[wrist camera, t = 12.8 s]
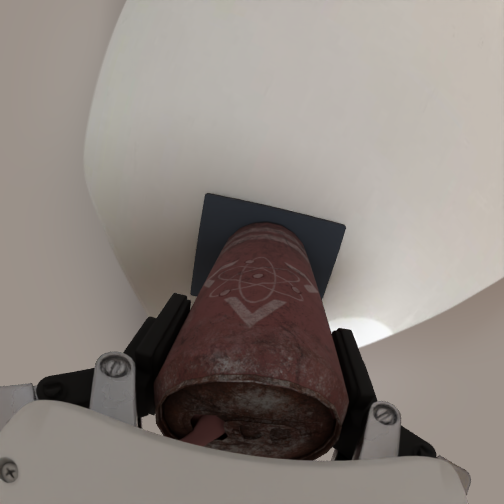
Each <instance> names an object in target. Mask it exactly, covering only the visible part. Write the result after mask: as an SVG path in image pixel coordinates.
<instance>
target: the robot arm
mask: <svg viewBox="0 0 504 504" xmlns="http://www.w3.org/2000/svg"><path fill="white" fill-rule="evenodd" d="M190 306H191V300H187V296H185V295H181V294H177V293H173V295H172V296H171V298H170V299H169V301H168V302H167V304H166V305H165V307H164V308H163V309H162V311H161V312H160V314H159V315H158V317H157V318H153V317H148V318H147V319H146V321H145V322H144V324H143V325H142V327H141V328H140V329H139V331H138V332H137V334H136V335H135V337H134V338H133V340H132V341H131V342H130V344H129V345H128V347H127V348H126V350H125V351H124V352H123V353H121V352H108V353H105V354H103V355H101V356H100V357H99V358H98V359H97V361H96V364H95V368H91V369H86V370H82V371H76V372H70V373H65V374H59V375H52V376H48V377H45V378H43V379H42V380H41V381H40V382H39V383H38V385H37V386H33V384H32V383H30V384H21V385H11V386H2V387H0V504H468V500H467V497H466V495H467V492H468V489H469V486H470V483H471V478H470V475H469V473H468V472H467V471H466V470H465V469H462V468H461V467H459V466H457V465H455V464H453V463H452V462H450V461H448V460H447V459H445V458H443V457H441V456H438V457H436V452H435V449H434V448H433V446H431V445H430V444H429V443H428V442H426V441H424V440H423V439H421V438H420V437H418V436H417V435H415V434H413V433H412V432H410V431H409V430H407V429H405V428H404V427H403V426H401V414H400V412H399V410H398V409H397V408H396V407H395V406H394V405H393V404H391V403H389V402H386V401H377V398H376V395H375V392H374V389H373V386H372V383H371V380H370V378H369V375H368V372H367V369H366V366H365V364H364V362H363V360H362V357H361V354H360V352H359V349H358V346H357V344H356V341H355V338H354V336H353V333H352V331H351V330H349V329H342V328H338V329H337V331H335V330H334V331H333V332H332V338H333V341H334V345H335V348H336V352H337V356H338V360H339V363H340V367H341V371H342V375H343V379H344V383H345V387H346V391H347V395H348V399H349V404H348V408H347V412H346V416H345V419H344V422H343V424H342V429H341V432H340V436H339V439H338V441H337V442H336V443H335V444H334V446H333V448H335V450H334V453H333V456H332V459H331V461H308V460H289V459H277V458H267V457H259V456H251V455H244V454H238V453H232V452H227V451H221V450H216V449H212V448H207V447H203V446H198V445H194V444H190V443H186V442H183V441H179V440H175V439H172V438H169V437H165V436H162V435H159V434H156V433H153V432H150V431H146V430H144V429H142V417H144V416H147V415H148V414H151V415H155V408H156V407H155V402H154V382H155V379H156V377H157V376H158V374H159V372H160V370H161V368H162V366H163V364H164V362H165V360H166V357H167V355H168V353H169V351H170V349H171V347H172V345H173V343H174V341H175V339H176V337H177V335H178V333H179V332H180V330H181V328H182V326H183V324H184V322H185V320H186V318H187V316H188V314H189V312H190Z"/></svg>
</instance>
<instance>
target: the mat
mask: <svg viewBox="0 0 504 504" xmlns="http://www.w3.org/2000/svg"><path fill="white" fill-rule="evenodd" d="M263 222H269V223H273V224H277V225H281V226H283V227H285V228H286V229H288V230H290V231H291V232H293V233H294V234H295V235H296V236H297V237H298V239H299V240H300V241H301V242H302V243H303V246H304V248H305V251H306V254H307V256H308V259H309V262H310V265H311V268H312V272H313V275H314V278H315V281H316V284H317V287H318V291H319V294H320V297H321V300H322V298H323V295H324V293H325V290H326V287H327V284H328V281H329V279H330V276H331V273H332V270H333V267H334V264H335V261H336V258H337V255H338V252H339V249H340V245H341V242H342V239H343V236H344V233H345V229H346V226H345V225H343V224H340V223H336V222H332V221H328V220H324V219H320V218H316V217H313V216H309V215H305V214H300V213H296V212H292V211H288V210H284V209H280V208H275V207H271V206H267V205H262V204H258V203H253V202H249V201H244V200H239V199H235V198H230V197H225V196H220V195H215V194H210V193H207V194H205V199H204V205H203V210H202V217H201V223H200V229H199V235H198V242H197V249H196V256H195V263H194V270H193V278H192V286H191V295H193V296H198V294H199V292H200V290H201V289H202V287H203V285H204V283H205V281H206V279H207V277H208V275H209V273H210V271H211V270H212V268H213V266H214V264H215V262H216V260H217V258H218V257H219V255H220V253H221V251H222V249H223V247H224V246H225V244H226V242H227V241H228V239H229V237H231V236H232V235H233V234H234V233H235V232H236V231H238V230H239V229H240V228H242V227H245V226H247V225H250V224H252V223H263Z"/></svg>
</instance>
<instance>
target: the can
mask: <svg viewBox="0 0 504 504" xmlns="http://www.w3.org/2000/svg"><path fill="white" fill-rule="evenodd" d="M154 402H155V407H156V408H155V414H156V424H157V426H158V427H159V429H160V430H161V432H162V434H163V436H165V437H169V438H172V439H175V440H179V441H183V442H186V443H190V444H194V445H198V446H203V447H207V448H212V449H216V450H221V451H227V452H232V453H238V454H244V455H251V456H259V457H267V458H277V459H289V460H308V461H313V460H315V459H317V458H319V457H320V456H322V455H324V454H325V453H327V452H328V451H329V450H330V449H331V448H332V447H333V446H334V444H335V443H336V442H337V441H338V439H339V436H340V432H341V429H342V424H343V422H344V419H345V416H346V412H347V408H348V404H349V399H348V395H347V391H346V387H345V383H344V379H343V375H342V371H341V367H340V363H339V360H338V356H337V352H336V348H335V345H334V341H333V338H332V334H331V331H330V327H329V324H328V320H327V317H326V314H325V310H324V307H323V304H322V300H321V297H320V294H319V291H318V287H317V284H316V281H315V278H314V275H313V272H312V268H311V265H310V262H309V259H308V256H307V254H306V251H305V248H304V246H303V243H302V242H301V241H300V240H299V239H298V237H297V236H296V235H295V234H294V233H293V232H291V231H290V230H288V229H286V228H285V227H283V226H281V225H277V224H273V223H269V222H263V223H252V224H250V225H247V226H245V227H242V228H240V229H239V230H238V231H236V232H235V233H234V234H233V235H232V236H231V237H229V239H228V241H227V242H226V244H225V246H224V247H223V249H222V251H221V253H220V255H219V257H218V258H217V260H216V262H215V264H214V266H213V268H212V270H211V271H210V273H209V275H208V277H207V279H206V281H205V283H204V285H203V287H202V289H201V290H200V292H199V294H198V296H197V298H196V300H195V302H194V304H193V306H192V308H191V310H190V312H189V314H188V316H187V318H186V320H185V322H184V324H183V326H182V328H181V330H180V332H179V333H178V335H177V337H176V339H175V341H174V343H173V345H172V347H171V349H170V351H169V353H168V355H167V357H166V360H165V362H164V364H163V366H162V368H161V370H160V372H159V374H158V376H157V377H156V379H155V382H154Z"/></svg>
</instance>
